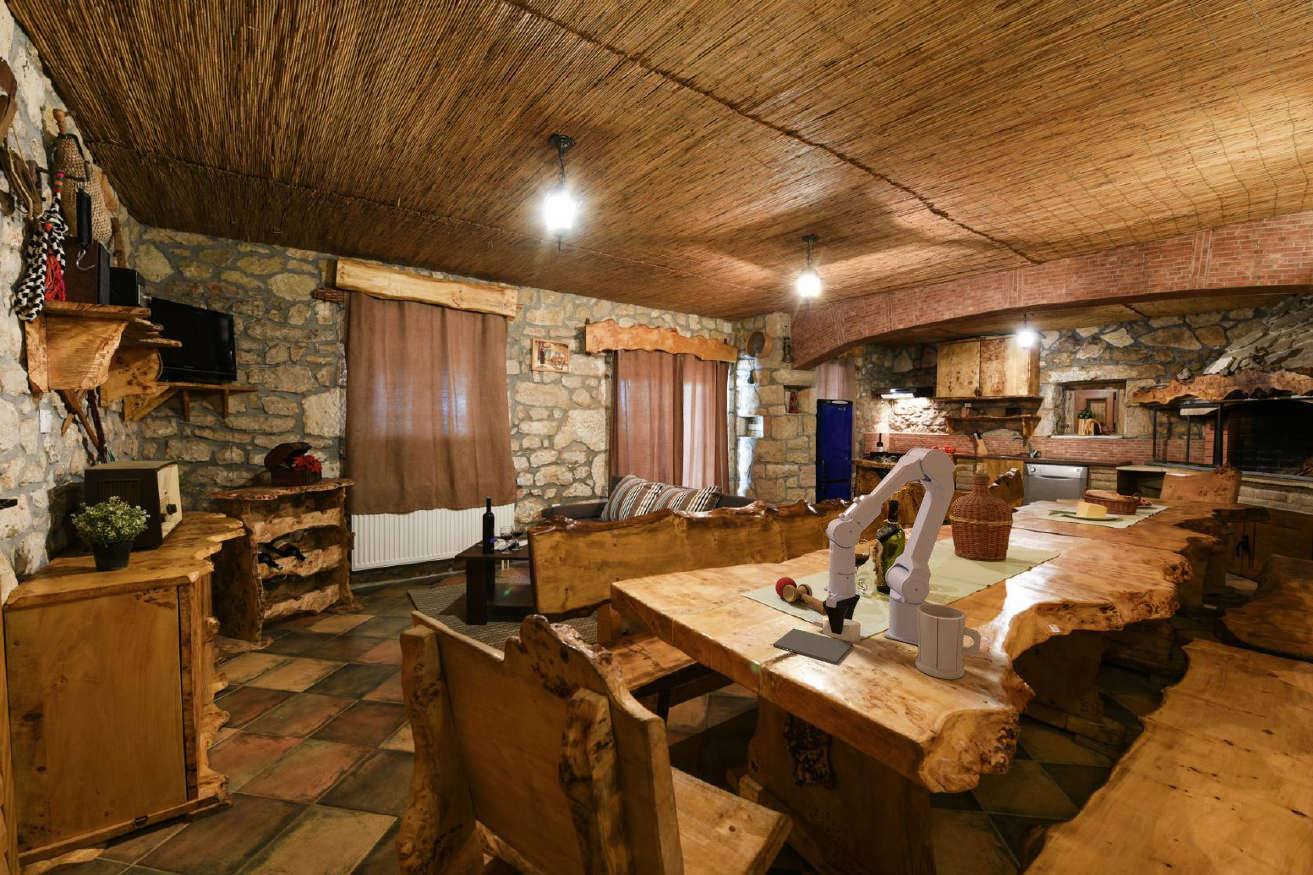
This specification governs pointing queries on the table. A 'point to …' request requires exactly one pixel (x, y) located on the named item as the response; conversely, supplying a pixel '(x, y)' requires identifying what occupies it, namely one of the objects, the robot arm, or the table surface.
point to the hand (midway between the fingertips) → (841, 628)
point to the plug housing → (849, 631)
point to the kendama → (797, 593)
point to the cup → (943, 641)
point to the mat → (814, 645)
